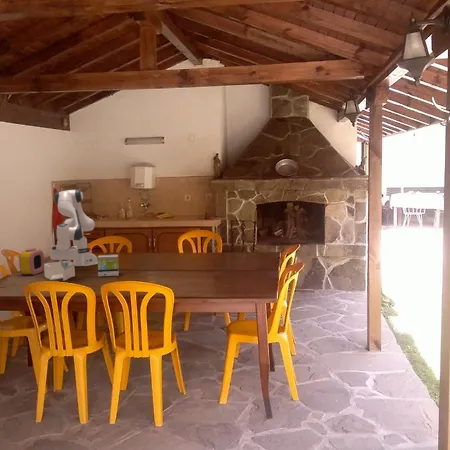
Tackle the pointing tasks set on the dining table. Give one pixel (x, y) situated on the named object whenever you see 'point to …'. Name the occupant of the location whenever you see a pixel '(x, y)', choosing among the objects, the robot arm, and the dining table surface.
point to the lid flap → (68, 271)
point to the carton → (54, 270)
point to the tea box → (108, 265)
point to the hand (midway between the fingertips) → (65, 265)
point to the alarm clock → (31, 261)
